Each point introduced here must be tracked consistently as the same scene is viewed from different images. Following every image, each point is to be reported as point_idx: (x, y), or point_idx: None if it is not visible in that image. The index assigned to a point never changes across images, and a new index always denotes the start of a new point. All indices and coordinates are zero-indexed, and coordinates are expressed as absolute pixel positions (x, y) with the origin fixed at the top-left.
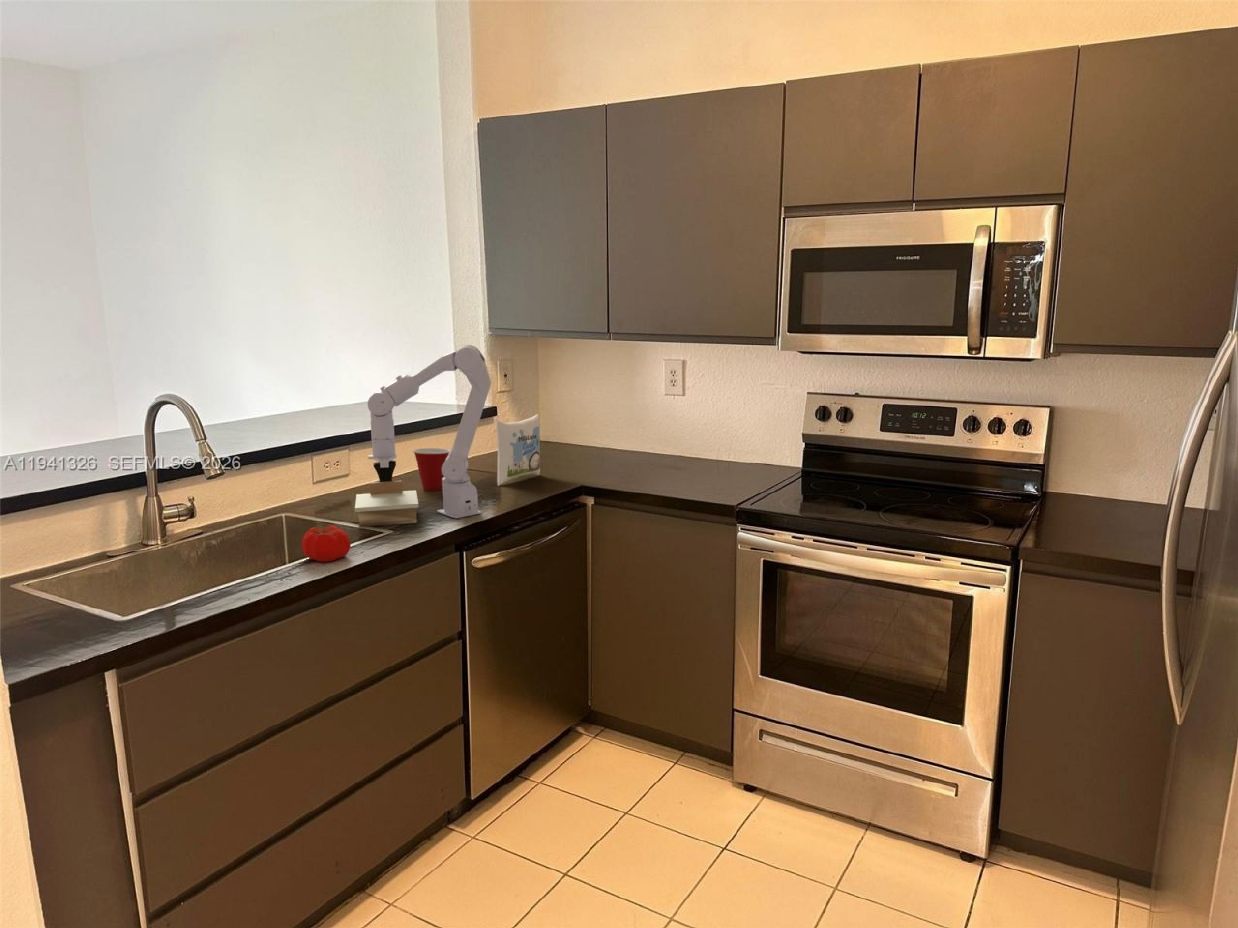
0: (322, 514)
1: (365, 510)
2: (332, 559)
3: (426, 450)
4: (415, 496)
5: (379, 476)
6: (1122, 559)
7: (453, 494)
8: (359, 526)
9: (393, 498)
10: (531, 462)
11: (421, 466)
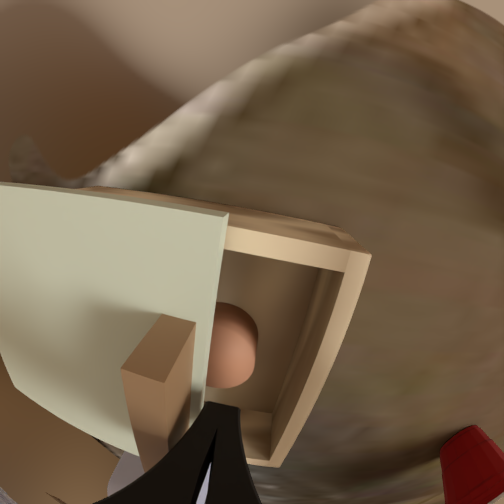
0: (397, 69)
1: None
2: None
3: None
4: (90, 432)
5: (151, 471)
6: (48, 494)
7: (124, 484)
8: (97, 186)
9: (61, 372)
10: None
11: (482, 472)
